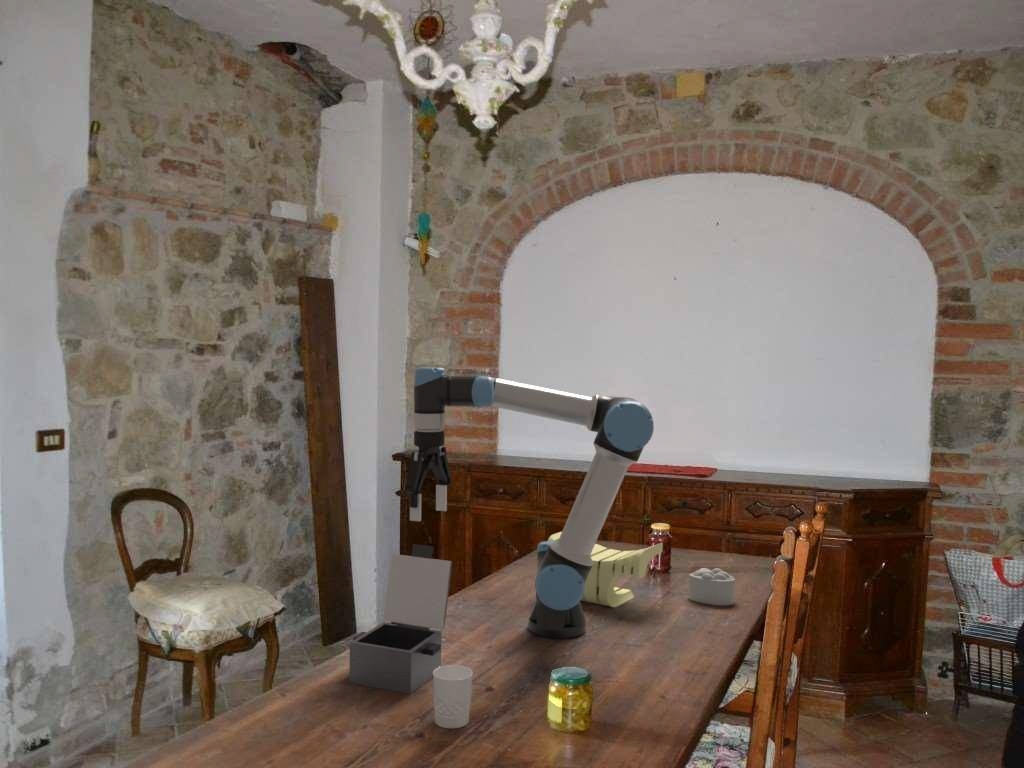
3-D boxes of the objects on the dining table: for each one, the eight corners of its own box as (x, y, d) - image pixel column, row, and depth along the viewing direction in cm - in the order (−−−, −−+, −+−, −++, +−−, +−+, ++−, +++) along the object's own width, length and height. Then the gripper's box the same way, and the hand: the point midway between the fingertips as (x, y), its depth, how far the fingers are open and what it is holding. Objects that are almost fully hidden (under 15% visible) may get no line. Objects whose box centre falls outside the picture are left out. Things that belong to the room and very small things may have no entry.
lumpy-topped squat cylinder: (699, 591, 272) (700, 563, 272) (740, 600, 264) (741, 571, 264) (684, 599, 264) (685, 570, 263) (726, 608, 256) (727, 578, 256)
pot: (450, 671, 203) (451, 632, 202) (420, 696, 189) (421, 654, 188) (373, 658, 210) (374, 620, 209) (339, 681, 195) (340, 640, 195)
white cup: (431, 713, 180) (432, 664, 180) (470, 712, 181) (472, 664, 180) (431, 730, 172) (432, 680, 172) (472, 730, 173) (473, 679, 173)
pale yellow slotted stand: (544, 596, 263) (546, 536, 262) (570, 584, 276) (572, 527, 275) (637, 616, 247) (639, 552, 246) (660, 602, 260) (662, 542, 259)
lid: (442, 632, 203) (445, 632, 204) (452, 549, 206) (455, 549, 207) (382, 623, 208) (385, 623, 210) (393, 541, 211) (396, 542, 213)
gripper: (438, 424, 232) (438, 505, 233) (390, 434, 209) (389, 523, 210) (464, 426, 229) (464, 507, 230) (418, 435, 206) (418, 526, 207)
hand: (428, 515), depth 220 cm, fingers open, 13 cm apart
